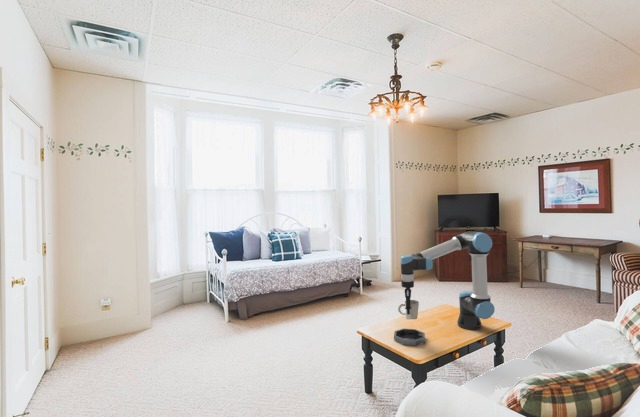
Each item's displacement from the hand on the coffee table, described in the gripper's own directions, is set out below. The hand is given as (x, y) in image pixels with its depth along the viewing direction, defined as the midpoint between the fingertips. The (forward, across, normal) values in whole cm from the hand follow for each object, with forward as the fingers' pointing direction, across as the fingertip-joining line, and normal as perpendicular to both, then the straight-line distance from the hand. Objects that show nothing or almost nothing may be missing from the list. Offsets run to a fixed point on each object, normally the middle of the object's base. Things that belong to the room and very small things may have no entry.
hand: (408, 317), depth 208 cm
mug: (0, 0, 0) cm, 1 cm away
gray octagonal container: (+14, 0, 0) cm, 14 cm away
